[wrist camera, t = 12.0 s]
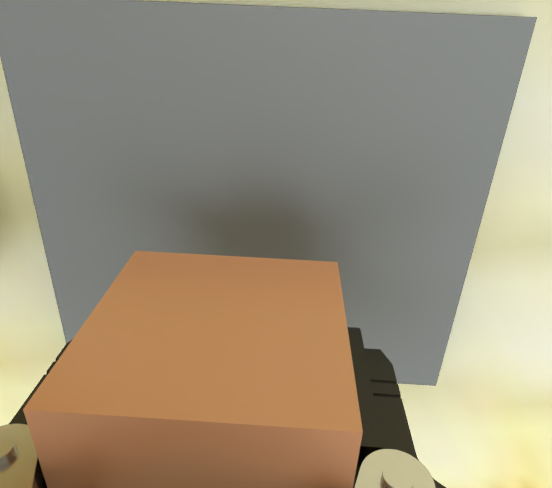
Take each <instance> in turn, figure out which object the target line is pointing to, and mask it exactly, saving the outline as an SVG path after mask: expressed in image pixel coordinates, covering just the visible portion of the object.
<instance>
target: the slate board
mask: <svg viewBox="0 0 552 488" xmlns="http://www.w3.org/2000/svg"><path fill="white" fill-rule="evenodd" d="M536 19H537V17H517V16H494V15H470V14H446V13H422V12H398V11H374V10H350V9H326V8H303V7H279V6H255V5H231V4H207V3H183V2H159V1H135V0H0V57H1V61H2V66H3V70H4V74H5V79H6V83H7V87H8V92H9V96H10V100H11V105H12V109H13V113H14V118H15V122H16V126H17V131H18V135H19V139H20V144H21V148H22V153H23V157H24V161H25V166H26V170H27V174H28V179H29V183H30V187H31V192H32V196H33V200H34V205H35V209H36V213H37V218H38V222H39V226H40V231H41V235H42V239H43V244H44V248H45V253H46V257H47V261H48V266H49V270H50V274H51V279H52V283H53V287H54V292H55V296H56V300H57V305H58V309H59V313H60V318H61V322H62V326H63V331H64V335H65V339H66V344H67V343H68V342H69V341H71V340H72V339H73V338H74V337H75V335H76V334H77V332H78V331H79V330H80V328H81V327H82V325H83V324H84V323H85V321H86V320H87V318H88V317H89V316H90V314H91V313H92V311H93V310H94V308H95V307H96V306H97V304H98V303H99V301H100V300H101V299H102V297H103V296H104V294H105V293H106V292H107V290H108V289H109V287H110V286H111V284H112V283H113V282H114V280H115V279H116V277H117V276H118V275H119V273H120V272H121V270H122V269H123V268H124V266H125V265H126V263H127V262H128V260H129V259H130V258H131V256H132V255H133V253H134V252H135V251H149V252H167V253H185V254H203V255H221V256H239V257H257V258H275V259H293V260H311V261H329V262H338V267H339V274H340V281H341V287H342V294H343V301H344V308H345V314H346V321H347V327H355V328H360V330H361V334H362V339H363V344H364V348H367V349H381V351H382V352H383V353H384V354H385V356H386V357H387V358H388V359H389V361H390V362H391V363H392V364H393V368H394V372H395V376H396V379H397V383H401V384H417V385H433V386H436V383H437V379H438V376H439V372H440V368H441V365H442V361H443V357H444V354H445V350H446V346H447V343H448V339H449V336H450V332H451V328H452V325H453V321H454V317H455V314H456V310H457V306H458V303H459V299H460V296H461V292H462V288H463V285H464V281H465V277H466V274H467V270H468V266H469V263H470V259H471V255H472V252H473V248H474V245H475V241H476V237H477V234H478V230H479V226H480V223H481V219H482V215H483V212H484V208H485V205H486V201H487V197H488V194H489V190H490V186H491V183H492V179H493V175H494V172H495V168H496V165H497V161H498V157H499V154H500V150H501V146H502V143H503V139H504V135H505V132H506V128H507V124H508V121H509V117H510V114H511V110H512V106H513V103H514V99H515V95H516V92H517V88H518V84H519V81H520V77H521V74H522V70H523V66H524V63H525V59H526V55H527V52H528V48H529V44H530V41H531V37H532V33H533V30H534V26H535V23H536Z"/></svg>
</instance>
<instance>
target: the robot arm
mask: <svg viewBox="0 0 552 488" xmlns="http://www.w3.org/2000/svg"><path fill="white" fill-rule="evenodd" d="M347 328H348V335H349V342H350V348H351V355H352V362H353V369H354V375H355V382H356V389H357V396H358V403H359V409H360V416H361V423H362V430H363V434H362V440H361V445H360V451H359V457H358V462H357V468H356V473H355V479H354V484H353V488H446V487H444V486H443V485H441V484H440V483H438V482H437V481H436V480H434V479H433V478H432V476H431V474H430V473H429V471H428V470H427V469H426V467H425V466H424V465H423V464H422V463H421V462H420V461H419V460H418V458H417V455H416V452H415V449H414V445H413V441H412V437H411V433H410V429H409V426H408V422H407V418H406V414H405V410H404V406H403V403H402V399H401V398H400V391H399V387H398V384H397V379H396V376H395V372H394V368H393V364H392V363H391V362H390V361H389V359H388V358H387V357H386V356H385V354H384V353H383V352H382V351H381V349H367V348H364V344H363V339H362V334H361V330H360V328H355V327H347ZM72 340H73V339H72ZM72 340H71V341H72ZM71 341H69V342H68V343H67V344H66V345H65V347H64V348H63V349H62V351H61V352H60V354H59V355H58V356H57V358H56V361H55V362H53V363H52V365H51V366H50V368H49V369H48V370H47V374H46V375H44V376H43V377H42V379H41V380H40V382H39V383H38V384H37V386H36V387H35V389H34V390H33V391H32V393H31V394H30V396H29V397H28V398H27V400H26V401H25V403H24V404H23V405H22V407H21V408H20V409H19V411H18V412H17V414H16V415H15V416H14V418H13V419H12V421H11V422H10V423H9V424H8V425H4V426H0V488H47V485H46V481H45V478H44V475H43V472H42V469H41V466H40V462H39V459H38V456H37V453H36V450H35V446H34V443H33V440H32V437H31V434H30V430H29V427H28V424H27V421H26V418H25V415H24V411H23V409H24V407H25V406H26V404H27V403H28V402H29V400H30V399H31V397H32V396H33V395H34V393H35V392H36V390H37V389H38V388H39V386H40V385H41V383H42V382H43V380H44V379H45V378H46V376H47V375H48V373H49V372H50V371H51V369H52V368H53V366H54V365H55V364H56V362H57V361H58V359H59V358H60V356H61V355H62V354H63V352H64V351H65V349H66V348H67V347H68V345H69V344H70V342H71Z"/></svg>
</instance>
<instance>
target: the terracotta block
mask: <svg viewBox="0 0 552 488" xmlns="http://www.w3.org/2000/svg"><path fill="white" fill-rule="evenodd" d="M23 411H24V415H25V418H26V421H27V424H28V427H29V430H30V434H31V437H32V440H33V443H34V446H35V450H36V453H37V456H38V459H39V462H40V466H41V469H42V472H43V475H44V478H45V481H46V485H47V488H353V484H354V479H355V473H356V468H357V462H358V457H359V451H360V445H361V440H362V434H363V430H362V423H361V416H360V409H359V403H358V396H357V389H356V382H355V375H354V369H353V362H352V355H351V348H350V342H349V335H348V328H347V321H346V314H345V308H344V301H343V294H342V287H341V281H340V274H339V267H338V262H329V261H311V260H293V259H275V258H257V257H239V256H221V255H203V254H185V253H167V252H149V251H135V252H134V253H133V255H132V256H131V258H130V259H129V260H128V262H127V263H126V265H125V266H124V268H123V269H122V270H121V272H120V273H119V275H118V276H117V277H116V279H115V280H114V282H113V283H112V284H111V286H110V287H109V289H108V290H107V292H106V293H105V294H104V296H103V297H102V299H101V300H100V301H99V303H98V304H97V306H96V307H95V308H94V310H93V311H92V313H91V314H90V316H89V317H88V318H87V320H86V321H85V323H84V324H83V325H82V327H81V328H80V330H79V331H78V332H77V334H76V335H75V337H74V338H73V340H72V341H71V342H70V344H69V345H68V347H67V348H66V349H65V351H64V352H63V354H62V355H61V356H60V358H59V359H58V361H57V362H56V364H55V365H54V366H53V368H52V369H51V371H50V372H49V373H48V375H47V376H46V378H45V379H44V380H43V382H42V383H41V385H40V386H39V388H38V389H37V390H36V392H35V393H34V395H33V396H32V397H31V399H30V400H29V402H28V403H27V404H26V406H25V407H24V409H23Z"/></svg>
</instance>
